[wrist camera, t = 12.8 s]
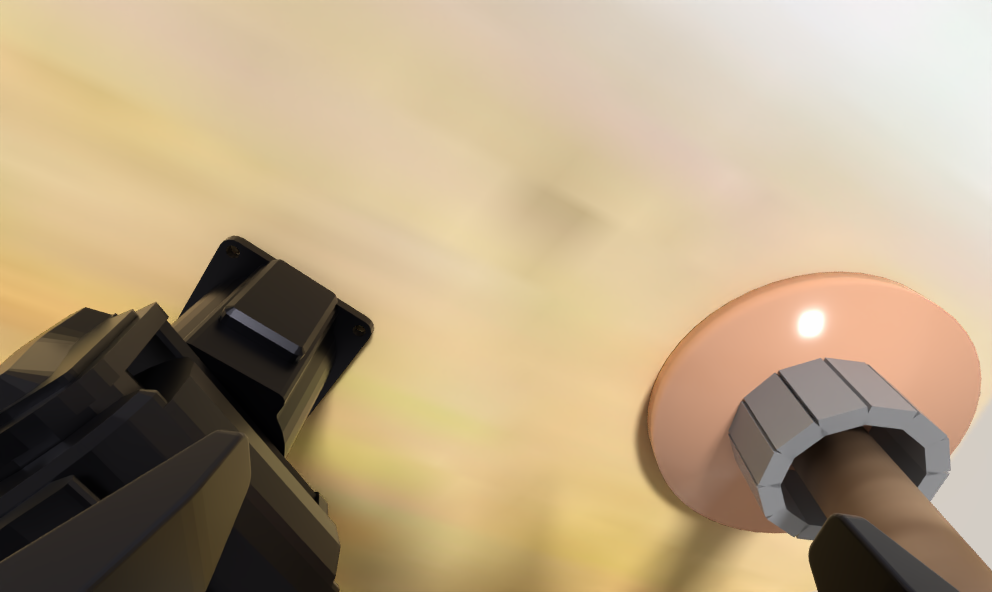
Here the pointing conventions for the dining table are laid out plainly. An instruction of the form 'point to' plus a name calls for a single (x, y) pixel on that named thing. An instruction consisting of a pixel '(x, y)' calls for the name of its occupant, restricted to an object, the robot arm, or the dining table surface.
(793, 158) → the dining table surface
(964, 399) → the dowel holder
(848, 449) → the walnut dowel
